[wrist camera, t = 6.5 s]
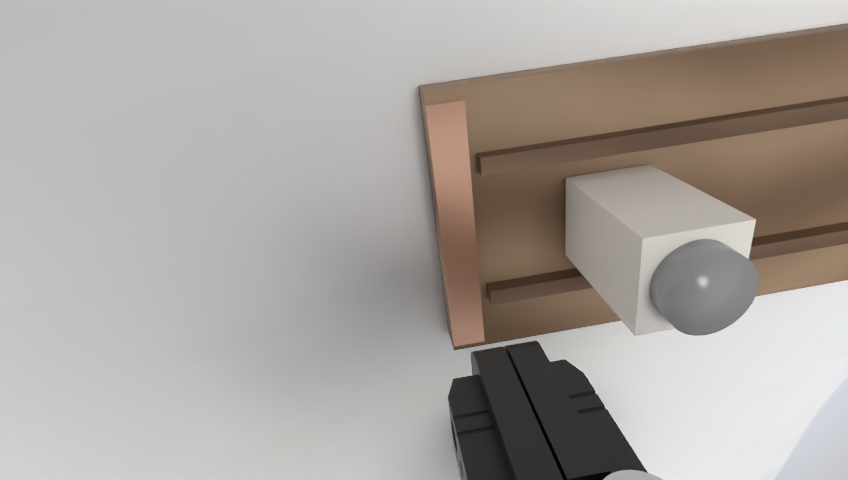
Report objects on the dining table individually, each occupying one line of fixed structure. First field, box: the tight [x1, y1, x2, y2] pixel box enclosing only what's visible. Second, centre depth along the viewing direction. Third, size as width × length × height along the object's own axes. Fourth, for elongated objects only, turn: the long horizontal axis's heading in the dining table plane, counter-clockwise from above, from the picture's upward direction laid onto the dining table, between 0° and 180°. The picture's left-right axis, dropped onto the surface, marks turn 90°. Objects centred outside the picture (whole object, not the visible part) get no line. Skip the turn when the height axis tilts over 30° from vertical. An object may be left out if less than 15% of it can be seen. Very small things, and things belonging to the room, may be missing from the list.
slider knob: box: [565, 164, 759, 336], centre depth 15 cm, size 3×3×6 cm
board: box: [419, 24, 848, 350], centre depth 18 cm, size 10×18×2 cm, turn 97°
